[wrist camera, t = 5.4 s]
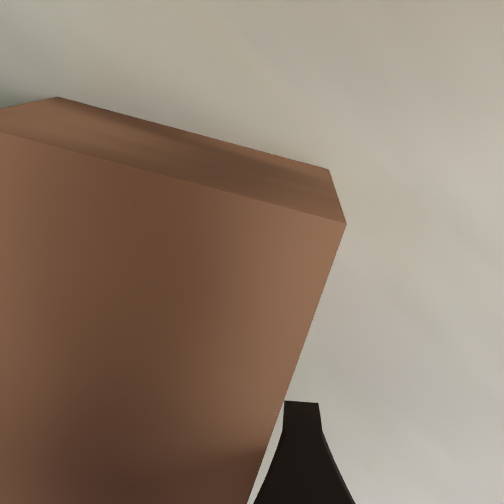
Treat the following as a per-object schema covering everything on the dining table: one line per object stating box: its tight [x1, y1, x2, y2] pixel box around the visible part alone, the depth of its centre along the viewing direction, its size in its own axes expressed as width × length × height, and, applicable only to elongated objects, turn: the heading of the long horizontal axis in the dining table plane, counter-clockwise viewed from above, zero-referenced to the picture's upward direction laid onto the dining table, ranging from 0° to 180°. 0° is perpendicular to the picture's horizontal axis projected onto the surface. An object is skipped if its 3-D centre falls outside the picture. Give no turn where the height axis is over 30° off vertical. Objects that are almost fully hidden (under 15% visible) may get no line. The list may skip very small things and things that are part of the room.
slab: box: [0, 97, 347, 504], centre depth 11 cm, size 6×10×4 cm, turn 166°
